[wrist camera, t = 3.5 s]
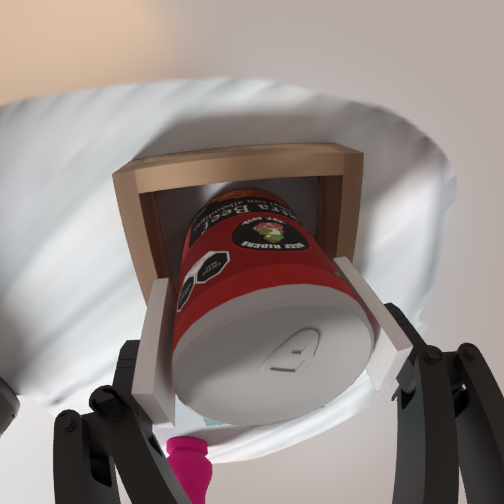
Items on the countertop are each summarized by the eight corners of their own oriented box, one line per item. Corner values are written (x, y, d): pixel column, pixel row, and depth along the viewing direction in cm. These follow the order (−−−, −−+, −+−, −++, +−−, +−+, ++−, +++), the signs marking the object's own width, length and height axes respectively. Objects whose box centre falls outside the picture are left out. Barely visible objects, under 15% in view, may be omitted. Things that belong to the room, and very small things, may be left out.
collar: (168, 322, 21) (165, 355, 18) (130, 160, 15) (111, 174, 12) (323, 302, 23) (339, 331, 19) (336, 143, 16) (363, 153, 13)
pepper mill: (155, 443, 33) (159, 554, 16) (177, 431, 31) (185, 559, 14) (194, 453, 36) (205, 555, 19) (219, 441, 34) (235, 556, 17)
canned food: (307, 190, 18) (408, 292, 8) (286, 290, 21) (335, 415, 12) (186, 181, 16) (157, 295, 7) (185, 289, 20) (179, 429, 10)
